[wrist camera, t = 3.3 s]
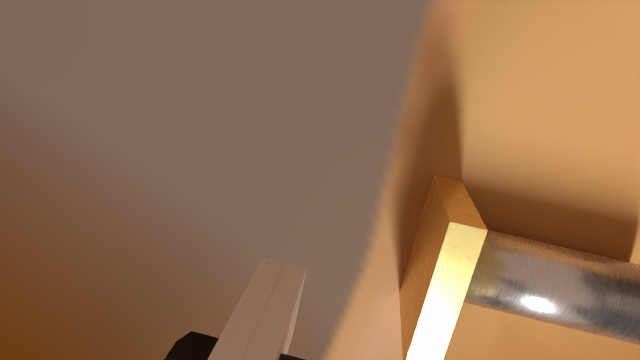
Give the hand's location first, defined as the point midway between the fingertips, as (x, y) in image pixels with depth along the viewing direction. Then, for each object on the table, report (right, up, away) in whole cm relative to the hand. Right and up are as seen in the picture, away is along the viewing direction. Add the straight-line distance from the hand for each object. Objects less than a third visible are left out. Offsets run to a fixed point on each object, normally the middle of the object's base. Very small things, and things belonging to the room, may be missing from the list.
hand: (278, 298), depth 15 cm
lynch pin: (+12, 0, +8) cm, 14 cm away
